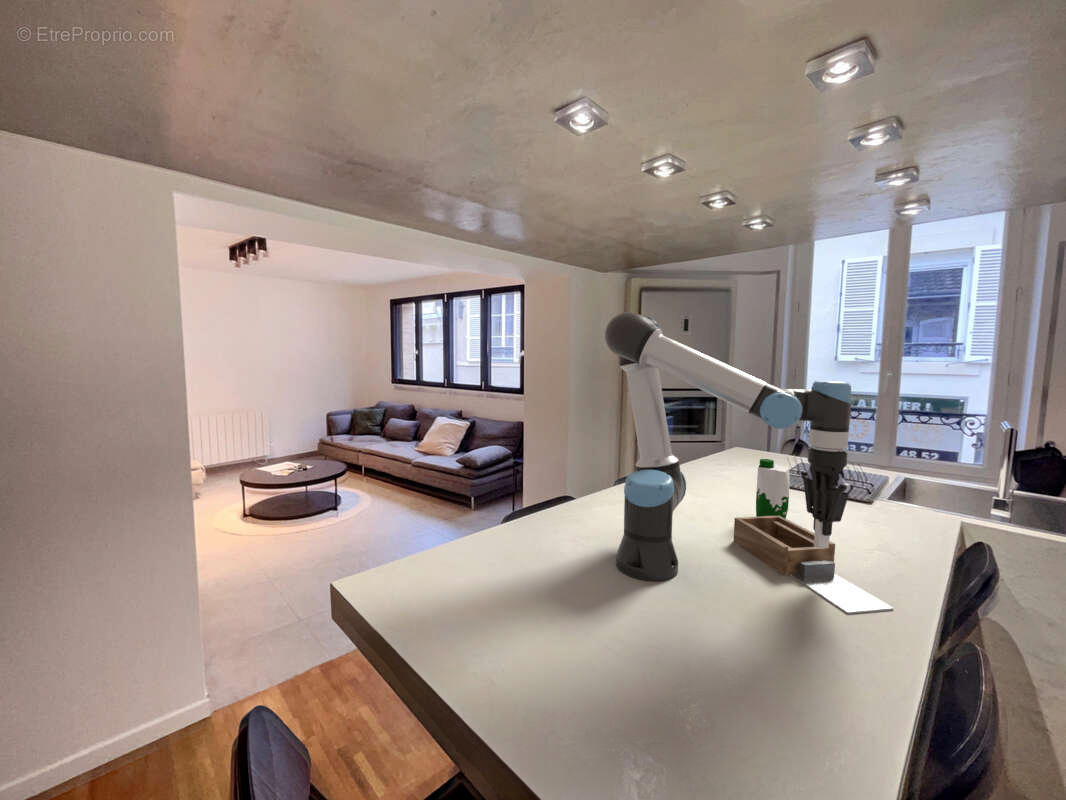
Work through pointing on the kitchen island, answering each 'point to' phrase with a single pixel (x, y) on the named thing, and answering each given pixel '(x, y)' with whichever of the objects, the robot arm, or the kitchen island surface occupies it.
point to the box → (779, 542)
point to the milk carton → (772, 489)
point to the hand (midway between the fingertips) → (821, 546)
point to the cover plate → (837, 588)
